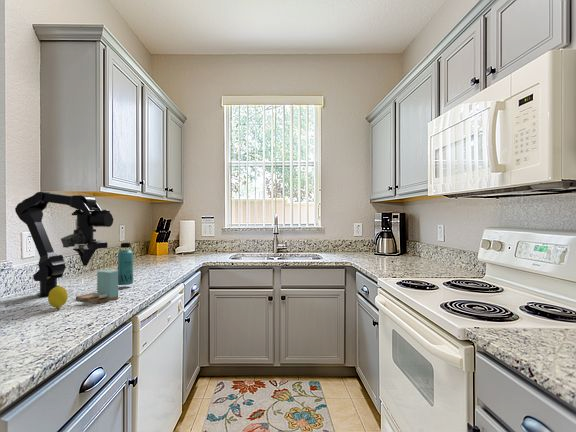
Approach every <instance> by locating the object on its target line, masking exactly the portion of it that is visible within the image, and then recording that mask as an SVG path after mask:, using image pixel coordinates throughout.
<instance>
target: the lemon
mask: <svg viewBox="0 0 576 432" xmlns="http://www.w3.org/2000/svg"><path fill="white" fill-rule="evenodd" d="M68 295H69V294H68V292H67V289H66V288H65V287H63V286H60V285H57V286H56V287H55V288H53V289H52V290H51V291H50V292H49V296H47V297H48V299H47V301H48V304H49V305H50V306H51V307H53V308H54V309H58V310H59V309H60V308H61V307H63V306H65V304H66V303H67V301H68V298H69V297H68Z"/></svg>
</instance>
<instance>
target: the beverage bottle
mask: <svg viewBox="0 0 576 432" xmlns="http://www.w3.org/2000/svg"><path fill="white" fill-rule="evenodd" d="M131 247H132V246H131V242H121V243H120V248H121V249H122V250H120V251H117V271H118V286H129V285H133V284H134V283H133V282H134V252H133V250H131V249H126V248H131ZM124 248H125V249H124Z"/></svg>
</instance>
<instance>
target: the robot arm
mask: <svg viewBox="0 0 576 432" xmlns="http://www.w3.org/2000/svg"><path fill="white" fill-rule="evenodd" d="M49 203H52V204H57V205H58V204H59V205H66V206H68V207H70V208H73V209H75V210H74V211H73V212H72V213H71V216H76V229H74V230H73V233H71V234H68V235H66V236H64V237H62V238H60V241H61V244H62V248H70V247H71V248H72V247H74V248H72V250H73V251H75V252H76V253H78V256H79V258H80V261H81V264H82V266H83V267H87V266H88V264H89V262H90V261H91V259H92V257H93V255H94V254H95V253H96V250H98V249H99V250H101V249H107V248H108V246H109V245H108V242H107V240H97V239H95V238H94V233H96V232H97V229H96V228H110V227H112V225H113V224H114V218H113V215H112V213H111V210H110V209H102V208H101V207H100V206H99V204H98V203H97V201H96V198H95V197H94V196H92V195H81V194H79V195H78V194H77V195H74V194H73V195H66V194H57V193H50V192H48V191H37V192H36V193H34V194H33V195H31V196H29V197H27V198H25V199H23V200H22V201H21V202H18V203H17V205H16V207H15V208H14V211H15V213H16V215H17V218H18V219H19V220H20V221H21V222H23V223H24V224H25V225H26V226H27V228H28V231H29V233H30V235H31V238H32V241H33V243H34V246H35V248H36V251H37V252H38V255H39V261H38V270H37V271H35V273H34V274H33V276H32V278H33V281H34V282H39V292H37V293H36V295H38V296H39V297H40V298H41V297H48V296H49V292H50V291H51V290H52V289H53V288H55V287H56V286H58V279H60V278H63V276H64V272H65V270H66V265H67V262H65V260H64V256H63V254H57V253H55V251H54V248H53V246H52V244H51V243H52V242H50V239H49V237H48V234H47V231H46V229H45V227H44V224H43V221H42V220H43V218H44V212H43V211H44V210H45V209H47V206H48V204H49ZM94 228H95V229H94Z"/></svg>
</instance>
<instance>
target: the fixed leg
mask: <svg viewBox="0 0 576 432" xmlns="http://www.w3.org/2000/svg"><path fill="white" fill-rule="evenodd" d="M115 296H118V297H119V285H118V270H111V271H106V272H104V294H103V295H99V298H103V297H108V298H112V297H115Z"/></svg>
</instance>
